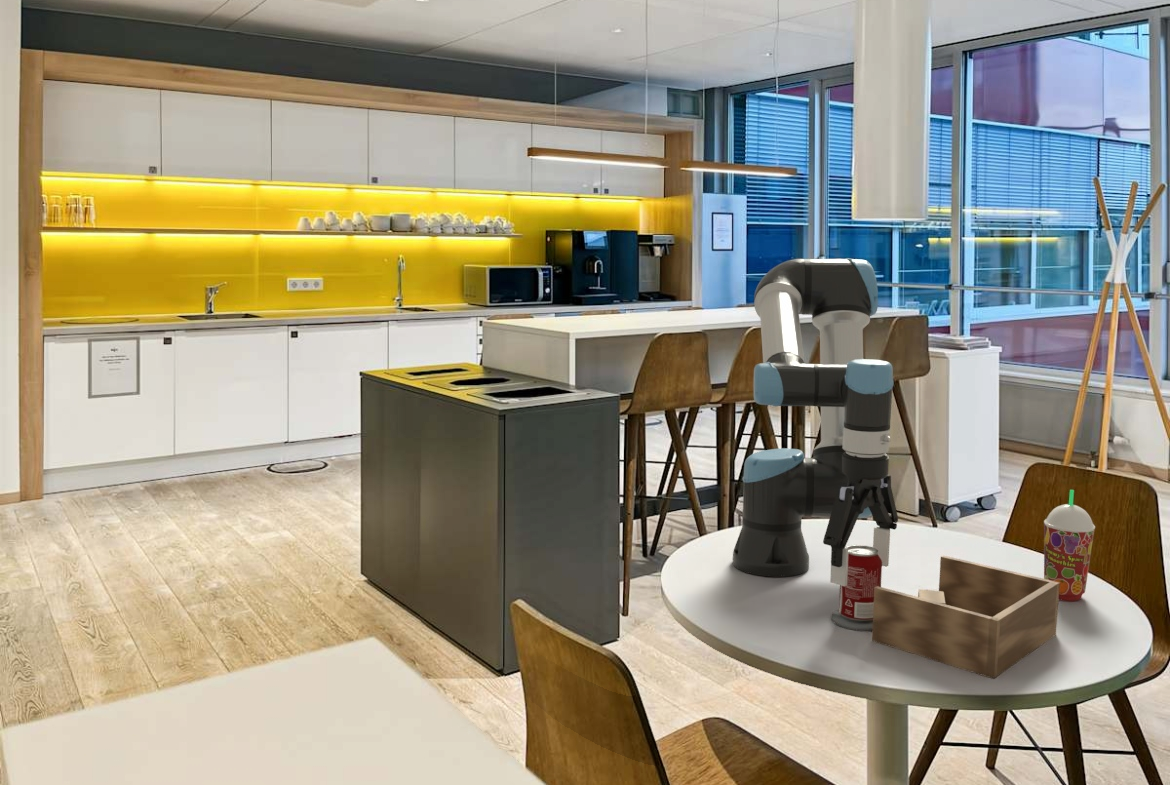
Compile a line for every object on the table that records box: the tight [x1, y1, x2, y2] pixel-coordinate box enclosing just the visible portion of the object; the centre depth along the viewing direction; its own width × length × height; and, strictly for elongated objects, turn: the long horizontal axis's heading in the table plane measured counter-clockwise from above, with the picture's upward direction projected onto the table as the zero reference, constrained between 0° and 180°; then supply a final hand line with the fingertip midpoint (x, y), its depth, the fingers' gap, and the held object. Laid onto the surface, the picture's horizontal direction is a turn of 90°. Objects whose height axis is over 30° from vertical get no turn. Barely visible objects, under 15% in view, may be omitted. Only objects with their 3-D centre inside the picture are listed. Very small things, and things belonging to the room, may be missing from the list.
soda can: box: [838, 544, 883, 623], centre depth 168 cm, size 7×7×12 cm
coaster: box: [830, 609, 873, 632], centre depth 169 cm, size 9×9×1 cm
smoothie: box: [1043, 489, 1096, 602], centre depth 179 cm, size 8×8×20 cm
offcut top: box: [917, 589, 945, 604], centre depth 165 cm, size 4×6×3 cm, turn 163°
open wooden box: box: [871, 555, 1060, 679], centre depth 161 cm, size 20×24×9 cm
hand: (860, 574), depth 168 cm, fingers open, 13 cm apart
